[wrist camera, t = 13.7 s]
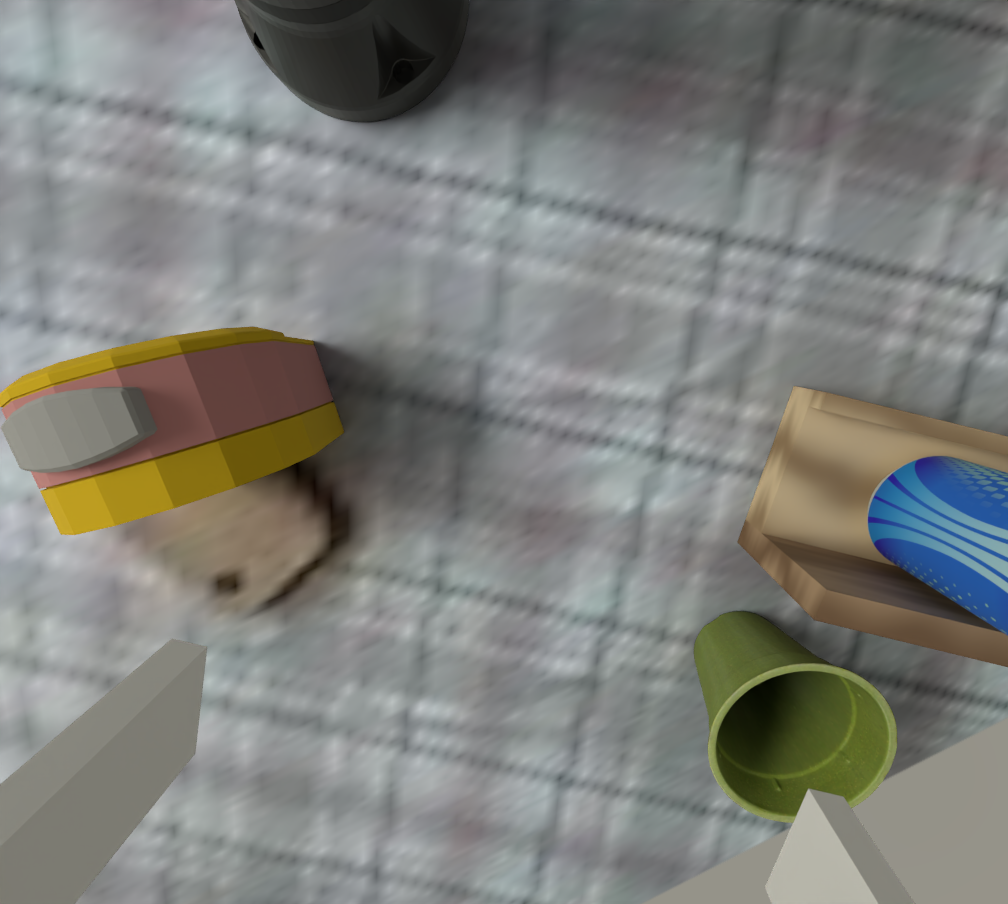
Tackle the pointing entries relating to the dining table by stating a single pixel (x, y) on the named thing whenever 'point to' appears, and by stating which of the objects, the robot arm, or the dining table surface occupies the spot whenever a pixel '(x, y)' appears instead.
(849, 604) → the cleat board
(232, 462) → the alarm clock
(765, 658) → the plant pot
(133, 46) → the dining table surface
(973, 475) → the beer can
